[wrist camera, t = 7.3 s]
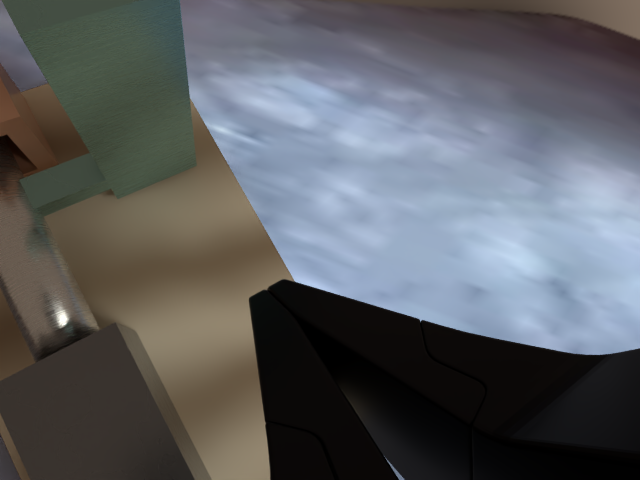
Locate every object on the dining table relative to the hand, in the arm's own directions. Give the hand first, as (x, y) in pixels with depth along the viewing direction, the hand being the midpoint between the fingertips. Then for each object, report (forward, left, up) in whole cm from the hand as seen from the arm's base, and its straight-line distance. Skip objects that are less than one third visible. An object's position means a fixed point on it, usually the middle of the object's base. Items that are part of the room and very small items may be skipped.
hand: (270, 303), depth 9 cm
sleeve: (-4, +4, -12) cm, 14 cm away
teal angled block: (+5, +6, -12) cm, 14 cm away
